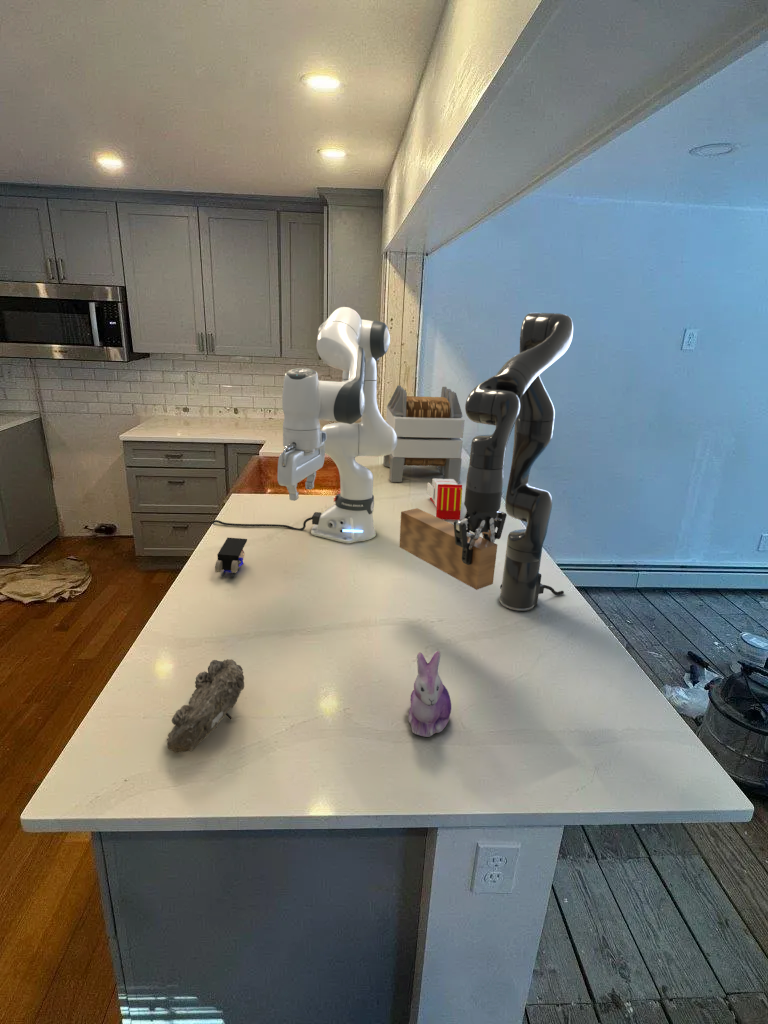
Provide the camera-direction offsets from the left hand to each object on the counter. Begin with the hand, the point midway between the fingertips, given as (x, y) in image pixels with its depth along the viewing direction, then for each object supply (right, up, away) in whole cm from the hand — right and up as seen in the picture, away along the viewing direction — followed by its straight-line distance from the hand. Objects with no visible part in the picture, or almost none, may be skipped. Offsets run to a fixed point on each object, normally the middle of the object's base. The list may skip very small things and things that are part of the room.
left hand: (302, 494), depth 140 cm
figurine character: (-25, -22, +28) cm, 43 cm away
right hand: (+40, -15, -16) cm, 46 cm away
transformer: (+38, +14, +135) cm, 141 cm away
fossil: (-13, -44, -32) cm, 55 cm away
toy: (+44, -3, +88) cm, 98 cm away
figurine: (+29, -45, -31) cm, 62 cm away
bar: (+34, -17, -7) cm, 39 cm away
